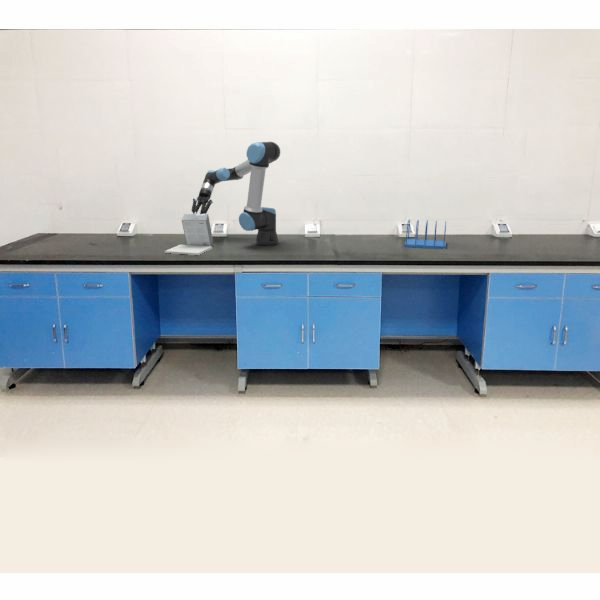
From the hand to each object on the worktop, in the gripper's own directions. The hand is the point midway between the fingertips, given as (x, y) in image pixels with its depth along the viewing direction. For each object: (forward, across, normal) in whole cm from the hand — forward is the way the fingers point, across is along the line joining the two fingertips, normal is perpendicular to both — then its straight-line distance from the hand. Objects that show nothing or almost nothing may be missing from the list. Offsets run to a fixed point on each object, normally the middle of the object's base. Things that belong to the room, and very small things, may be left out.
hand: (195, 221), depth 367 cm
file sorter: (-22, -138, -44) cm, 146 cm away
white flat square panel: (+21, -2, -1) cm, 21 cm away
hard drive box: (+9, -2, -11) cm, 15 cm away
